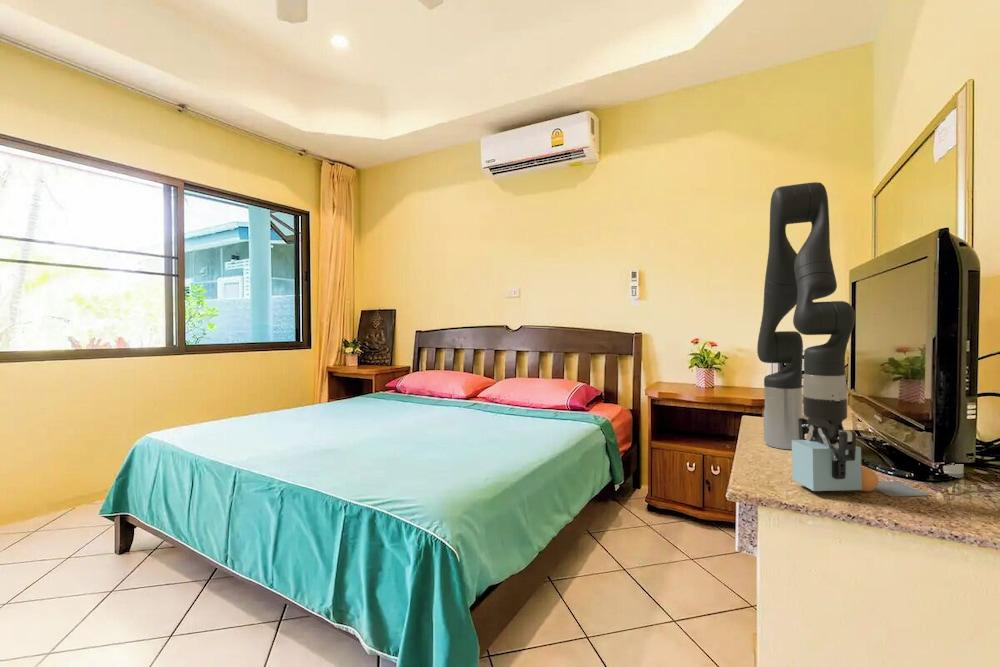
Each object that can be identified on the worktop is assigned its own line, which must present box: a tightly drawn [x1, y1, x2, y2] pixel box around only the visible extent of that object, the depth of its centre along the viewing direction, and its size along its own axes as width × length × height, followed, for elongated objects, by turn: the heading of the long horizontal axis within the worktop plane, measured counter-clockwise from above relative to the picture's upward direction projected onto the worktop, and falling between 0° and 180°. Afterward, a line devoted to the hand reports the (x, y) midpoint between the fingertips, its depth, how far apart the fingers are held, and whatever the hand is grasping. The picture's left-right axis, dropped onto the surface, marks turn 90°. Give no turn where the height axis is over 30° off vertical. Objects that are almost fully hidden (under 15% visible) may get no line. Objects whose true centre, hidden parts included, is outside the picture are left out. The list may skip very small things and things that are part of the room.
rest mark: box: [873, 480, 932, 498], centre depth 93 cm, size 8×8×1 cm
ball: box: [860, 466, 879, 492], centre depth 93 cm, size 5×5×5 cm
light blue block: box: [791, 440, 862, 492], centre depth 93 cm, size 7×10×9 cm
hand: (825, 472), depth 93 cm, fingers closed on light blue block, 6 cm apart
